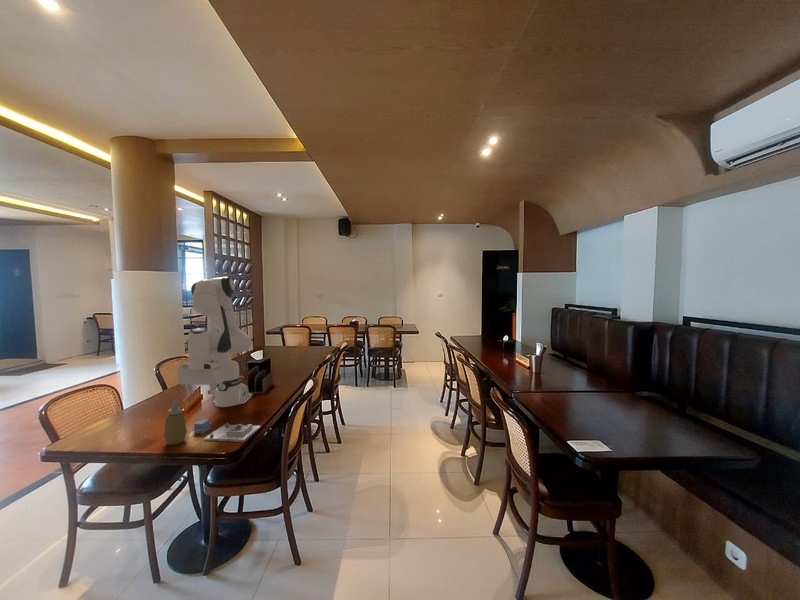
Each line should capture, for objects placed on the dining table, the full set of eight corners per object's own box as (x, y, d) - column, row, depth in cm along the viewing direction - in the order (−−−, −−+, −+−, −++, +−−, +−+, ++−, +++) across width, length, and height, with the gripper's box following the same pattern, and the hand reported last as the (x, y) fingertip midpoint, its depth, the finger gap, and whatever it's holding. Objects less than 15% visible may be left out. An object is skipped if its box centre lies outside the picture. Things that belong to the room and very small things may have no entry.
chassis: (224, 426, 156) (223, 420, 156) (260, 427, 155) (260, 422, 155) (204, 440, 143) (203, 434, 142) (243, 441, 141) (243, 435, 141)
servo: (204, 427, 156) (203, 418, 156) (212, 427, 155) (211, 418, 155) (192, 434, 148) (192, 424, 148) (200, 435, 148) (200, 425, 148)
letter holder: (246, 394, 204) (246, 371, 203) (258, 384, 224) (257, 364, 223) (263, 393, 205) (262, 371, 204) (273, 384, 224) (272, 363, 224)
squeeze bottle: (171, 438, 145) (170, 397, 144) (191, 437, 145) (189, 397, 145) (159, 447, 137) (158, 404, 136) (180, 446, 137) (178, 403, 136)
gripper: (173, 365, 148) (174, 395, 149) (216, 365, 146) (217, 396, 147) (183, 362, 154) (184, 391, 155) (224, 362, 152) (225, 392, 153)
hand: (200, 393), depth 151 cm, fingers open, 8 cm apart
